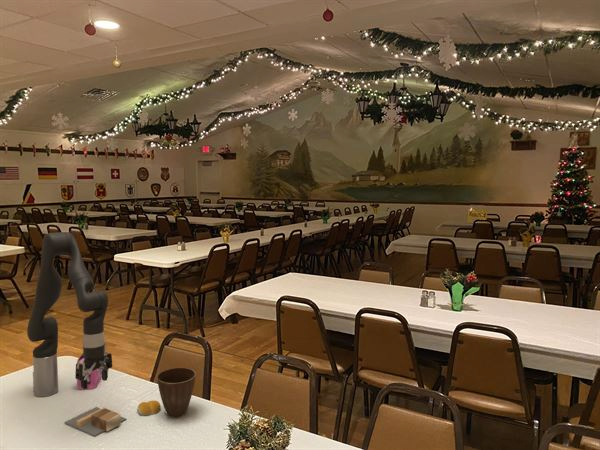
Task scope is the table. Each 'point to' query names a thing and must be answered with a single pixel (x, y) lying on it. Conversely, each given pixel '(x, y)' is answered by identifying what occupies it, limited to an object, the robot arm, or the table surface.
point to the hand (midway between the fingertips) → (94, 384)
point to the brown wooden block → (106, 419)
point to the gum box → (91, 375)
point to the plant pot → (176, 389)
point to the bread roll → (148, 408)
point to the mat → (87, 422)
